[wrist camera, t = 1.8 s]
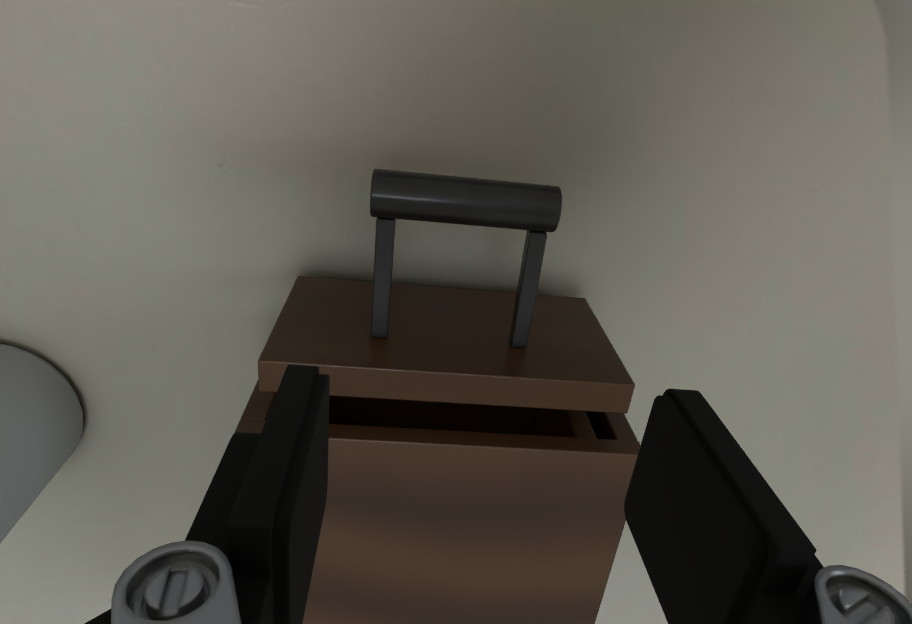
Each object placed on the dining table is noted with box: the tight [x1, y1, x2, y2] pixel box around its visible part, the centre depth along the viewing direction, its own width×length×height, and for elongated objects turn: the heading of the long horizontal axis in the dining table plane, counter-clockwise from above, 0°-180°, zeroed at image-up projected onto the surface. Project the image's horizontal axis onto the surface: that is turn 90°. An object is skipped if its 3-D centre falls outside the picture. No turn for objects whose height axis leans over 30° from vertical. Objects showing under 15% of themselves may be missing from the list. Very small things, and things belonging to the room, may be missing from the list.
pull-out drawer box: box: [258, 169, 635, 439], centre depth 25 cm, size 20×12×7 cm, turn 174°
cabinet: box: [235, 379, 640, 624], centre depth 27 cm, size 16×14×9 cm
